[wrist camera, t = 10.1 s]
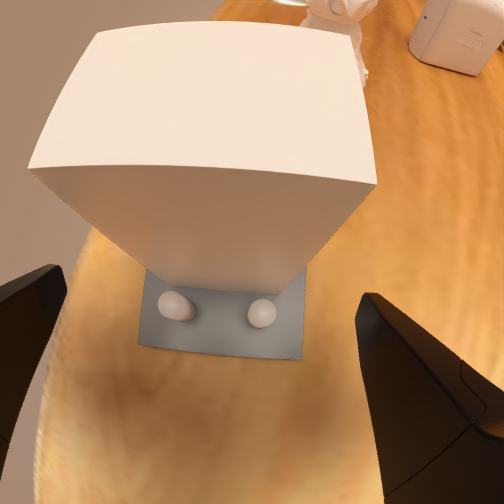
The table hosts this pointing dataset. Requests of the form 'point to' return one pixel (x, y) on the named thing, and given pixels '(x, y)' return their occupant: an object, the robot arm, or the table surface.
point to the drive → (213, 148)
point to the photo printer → (458, 34)
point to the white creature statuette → (341, 22)
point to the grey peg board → (223, 320)
